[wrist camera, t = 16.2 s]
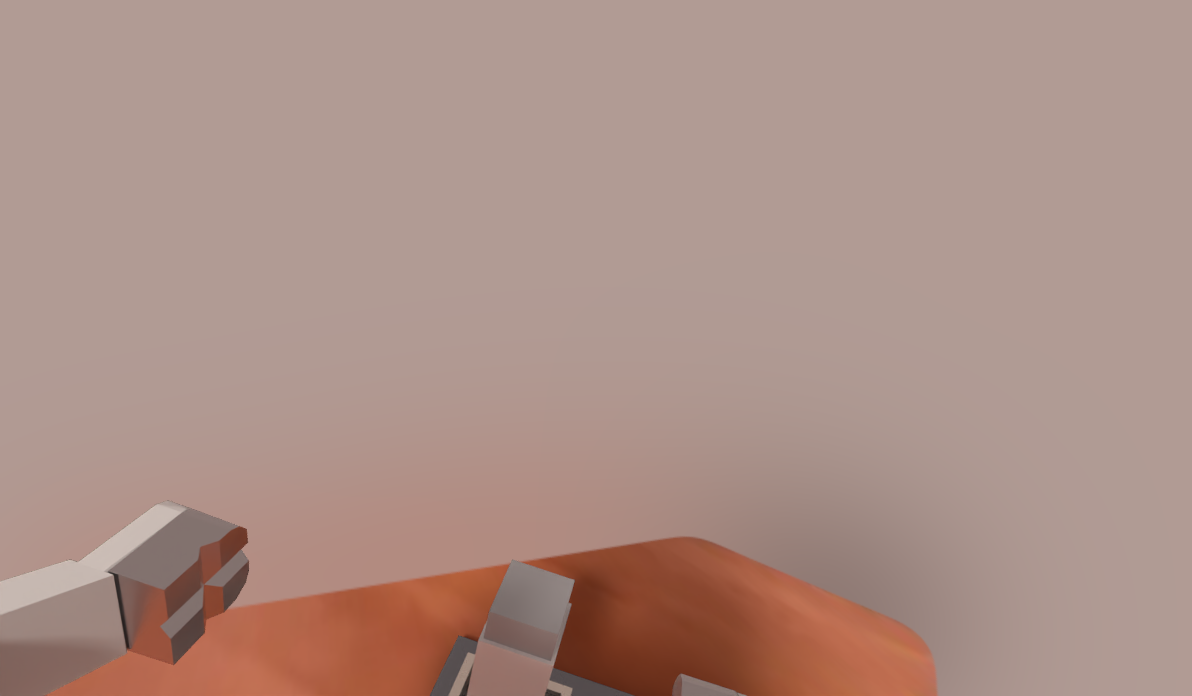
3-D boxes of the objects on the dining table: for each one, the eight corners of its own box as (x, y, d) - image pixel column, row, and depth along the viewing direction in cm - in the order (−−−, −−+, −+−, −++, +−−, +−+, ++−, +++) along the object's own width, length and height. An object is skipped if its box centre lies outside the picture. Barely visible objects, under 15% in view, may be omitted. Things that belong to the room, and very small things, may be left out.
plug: (452, 764, 35) (483, 613, 30) (482, 690, 40) (514, 545, 34) (517, 788, 35) (561, 639, 29) (539, 710, 39) (582, 567, 34)
